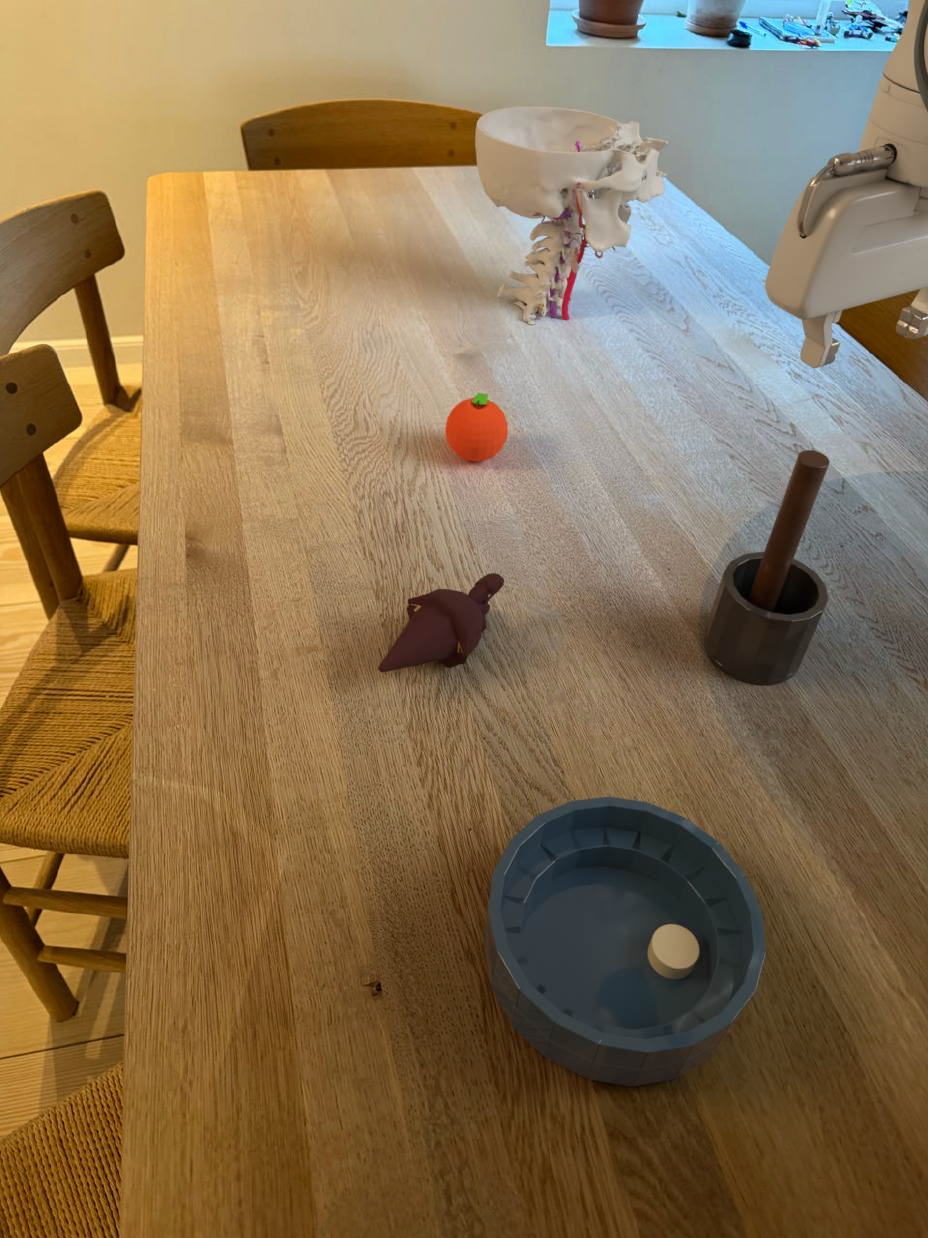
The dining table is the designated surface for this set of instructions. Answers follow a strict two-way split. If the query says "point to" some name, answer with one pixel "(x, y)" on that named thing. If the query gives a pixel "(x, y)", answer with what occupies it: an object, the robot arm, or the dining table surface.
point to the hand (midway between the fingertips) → (863, 348)
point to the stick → (788, 528)
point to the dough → (673, 951)
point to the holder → (763, 623)
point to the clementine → (476, 428)
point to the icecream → (443, 626)
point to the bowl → (620, 939)
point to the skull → (564, 189)
